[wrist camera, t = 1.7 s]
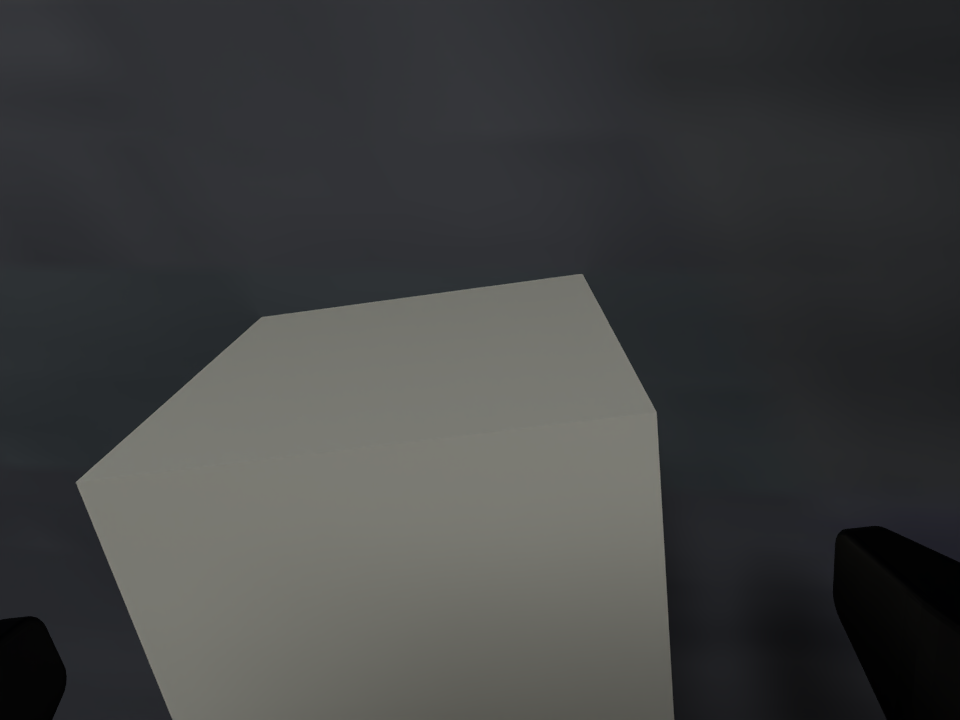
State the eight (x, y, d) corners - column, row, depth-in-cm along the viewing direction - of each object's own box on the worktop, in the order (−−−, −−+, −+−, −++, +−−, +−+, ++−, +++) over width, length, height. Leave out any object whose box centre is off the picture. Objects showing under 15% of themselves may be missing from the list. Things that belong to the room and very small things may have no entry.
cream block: (581, 272, 10) (656, 411, 5) (606, 546, 12) (680, 831, 7) (262, 316, 10) (75, 482, 6) (332, 576, 12) (231, 866, 8)
